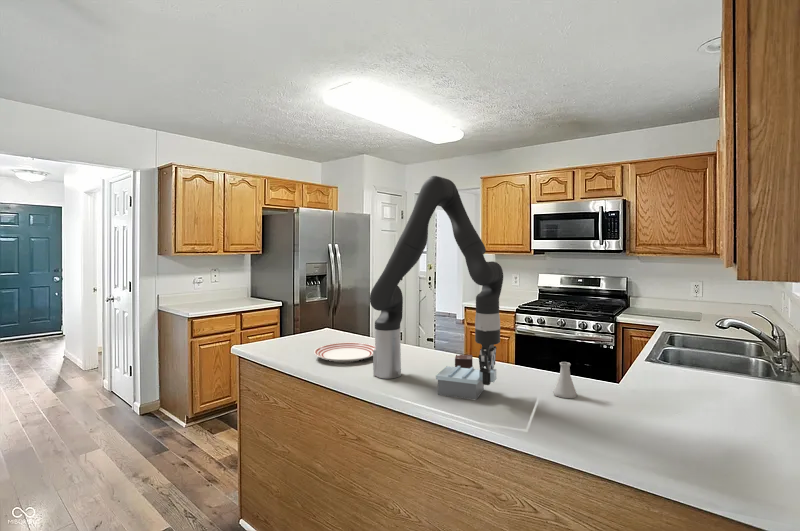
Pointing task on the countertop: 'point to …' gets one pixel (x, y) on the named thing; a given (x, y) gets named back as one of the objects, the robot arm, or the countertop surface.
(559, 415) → the countertop surface
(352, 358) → the dinner plate
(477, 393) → the tub
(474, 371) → the lid
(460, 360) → the box
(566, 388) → the flask
